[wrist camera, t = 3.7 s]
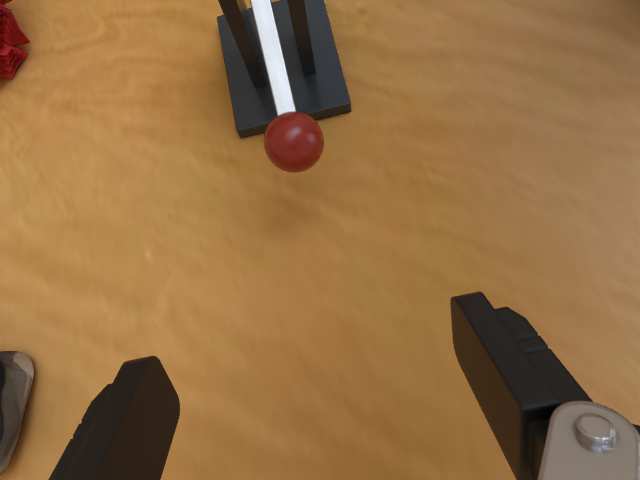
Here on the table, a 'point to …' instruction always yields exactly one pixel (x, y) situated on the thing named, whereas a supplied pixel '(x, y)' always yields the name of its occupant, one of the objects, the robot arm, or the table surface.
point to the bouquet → (10, 42)
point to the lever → (284, 103)
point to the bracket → (300, 56)
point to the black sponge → (12, 400)
